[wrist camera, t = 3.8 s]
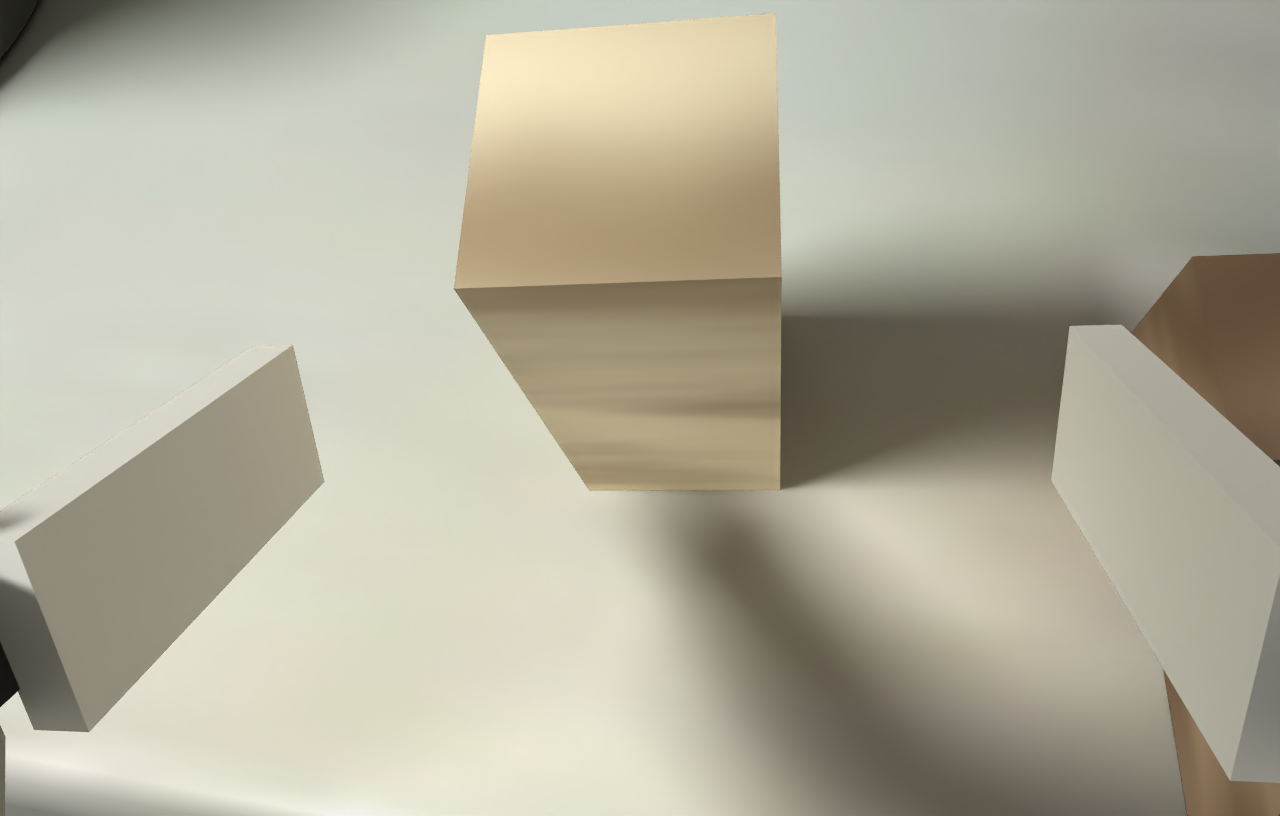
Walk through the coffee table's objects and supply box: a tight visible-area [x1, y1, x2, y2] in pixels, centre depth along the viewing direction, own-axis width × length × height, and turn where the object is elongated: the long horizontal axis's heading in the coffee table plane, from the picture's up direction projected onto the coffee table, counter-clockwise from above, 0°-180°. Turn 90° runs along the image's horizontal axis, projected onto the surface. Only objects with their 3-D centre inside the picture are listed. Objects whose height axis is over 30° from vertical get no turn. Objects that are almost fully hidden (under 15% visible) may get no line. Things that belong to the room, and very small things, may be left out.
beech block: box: [454, 13, 781, 490], centre depth 20 cm, size 5×5×11 cm
